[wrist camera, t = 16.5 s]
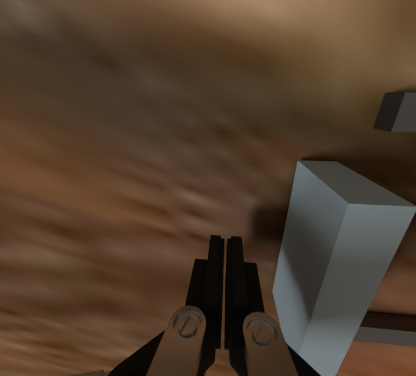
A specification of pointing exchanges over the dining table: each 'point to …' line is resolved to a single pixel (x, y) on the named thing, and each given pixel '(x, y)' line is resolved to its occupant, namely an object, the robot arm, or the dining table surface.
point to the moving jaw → (333, 258)
